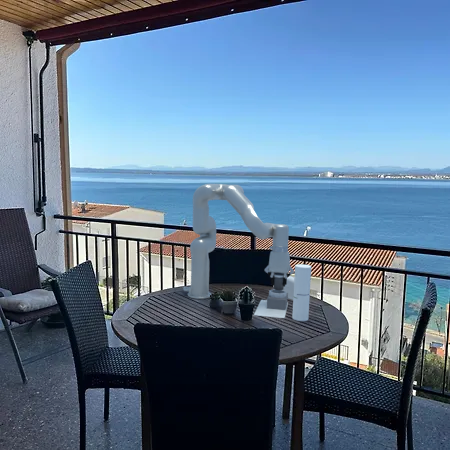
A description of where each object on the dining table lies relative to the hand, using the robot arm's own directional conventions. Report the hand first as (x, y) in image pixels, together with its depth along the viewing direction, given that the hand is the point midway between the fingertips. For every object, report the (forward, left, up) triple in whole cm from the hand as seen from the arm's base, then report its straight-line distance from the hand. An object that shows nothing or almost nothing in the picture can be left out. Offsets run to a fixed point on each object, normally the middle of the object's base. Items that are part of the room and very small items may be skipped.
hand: (278, 285), depth 210 cm
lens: (0, 0, -2) cm, 2 cm away
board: (-2, -6, -11) cm, 13 cm away
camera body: (0, 0, -10) cm, 10 cm away
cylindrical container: (+12, -17, -11) cm, 24 cm away
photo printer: (+5, +16, -11) cm, 20 cm away
